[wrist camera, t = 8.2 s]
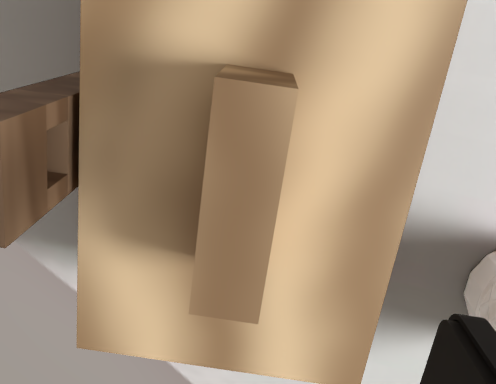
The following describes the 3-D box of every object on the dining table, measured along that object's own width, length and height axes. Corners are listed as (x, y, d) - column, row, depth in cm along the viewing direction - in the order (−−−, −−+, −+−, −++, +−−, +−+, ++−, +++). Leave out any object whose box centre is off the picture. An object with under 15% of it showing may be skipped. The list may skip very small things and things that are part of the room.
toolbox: (421, -51, 24) (606, -140, 10) (339, 290, 31) (389, 495, 17) (105, -97, 24) (-107, -244, 10) (95, 254, 31) (-39, 432, 17)
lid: (463, -68, 17) (561, -112, 11) (351, 357, 24) (376, 466, 18) (105, -120, 17) (18, -192, 11) (93, 319, 24) (35, 416, 18)
